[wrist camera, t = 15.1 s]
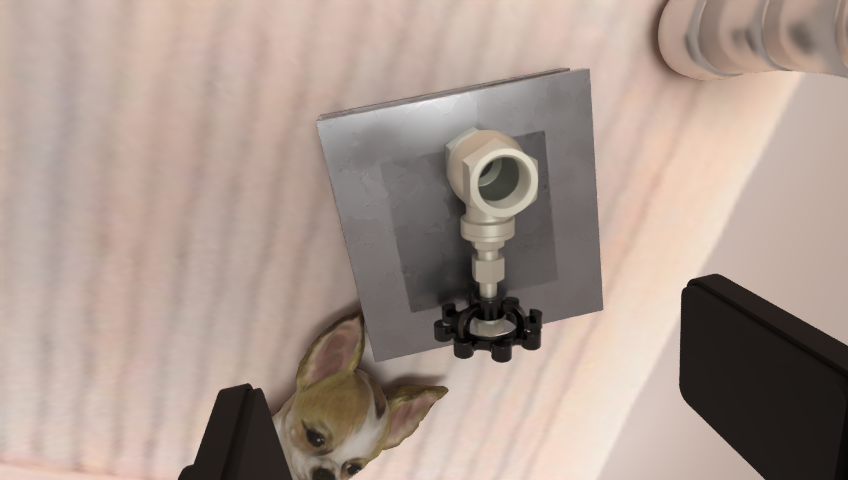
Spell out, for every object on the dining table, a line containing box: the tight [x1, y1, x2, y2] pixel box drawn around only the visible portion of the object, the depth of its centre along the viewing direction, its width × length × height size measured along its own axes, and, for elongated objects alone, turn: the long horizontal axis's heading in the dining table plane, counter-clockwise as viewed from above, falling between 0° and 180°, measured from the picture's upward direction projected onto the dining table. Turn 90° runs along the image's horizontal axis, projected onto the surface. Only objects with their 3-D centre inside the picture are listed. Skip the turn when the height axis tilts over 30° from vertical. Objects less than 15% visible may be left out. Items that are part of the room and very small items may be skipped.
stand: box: [316, 68, 603, 362], centre depth 33 cm, size 16×16×4 cm
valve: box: [434, 127, 543, 363], centre depth 28 cm, size 7×7×12 cm
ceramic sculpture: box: [272, 309, 449, 480], centre depth 35 cm, size 11×9×15 cm
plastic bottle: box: [658, 0, 848, 80], centre depth 24 cm, size 6×7×20 cm
